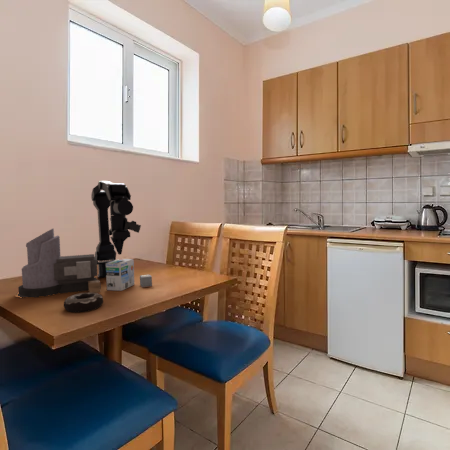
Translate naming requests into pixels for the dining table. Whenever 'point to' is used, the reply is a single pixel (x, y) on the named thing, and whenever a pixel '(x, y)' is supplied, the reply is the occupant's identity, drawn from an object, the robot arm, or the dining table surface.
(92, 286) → the walnut marked block
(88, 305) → the donut
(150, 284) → the grey marked block
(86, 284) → the grey boxy piece
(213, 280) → the dining table surface
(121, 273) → the light bulb box
